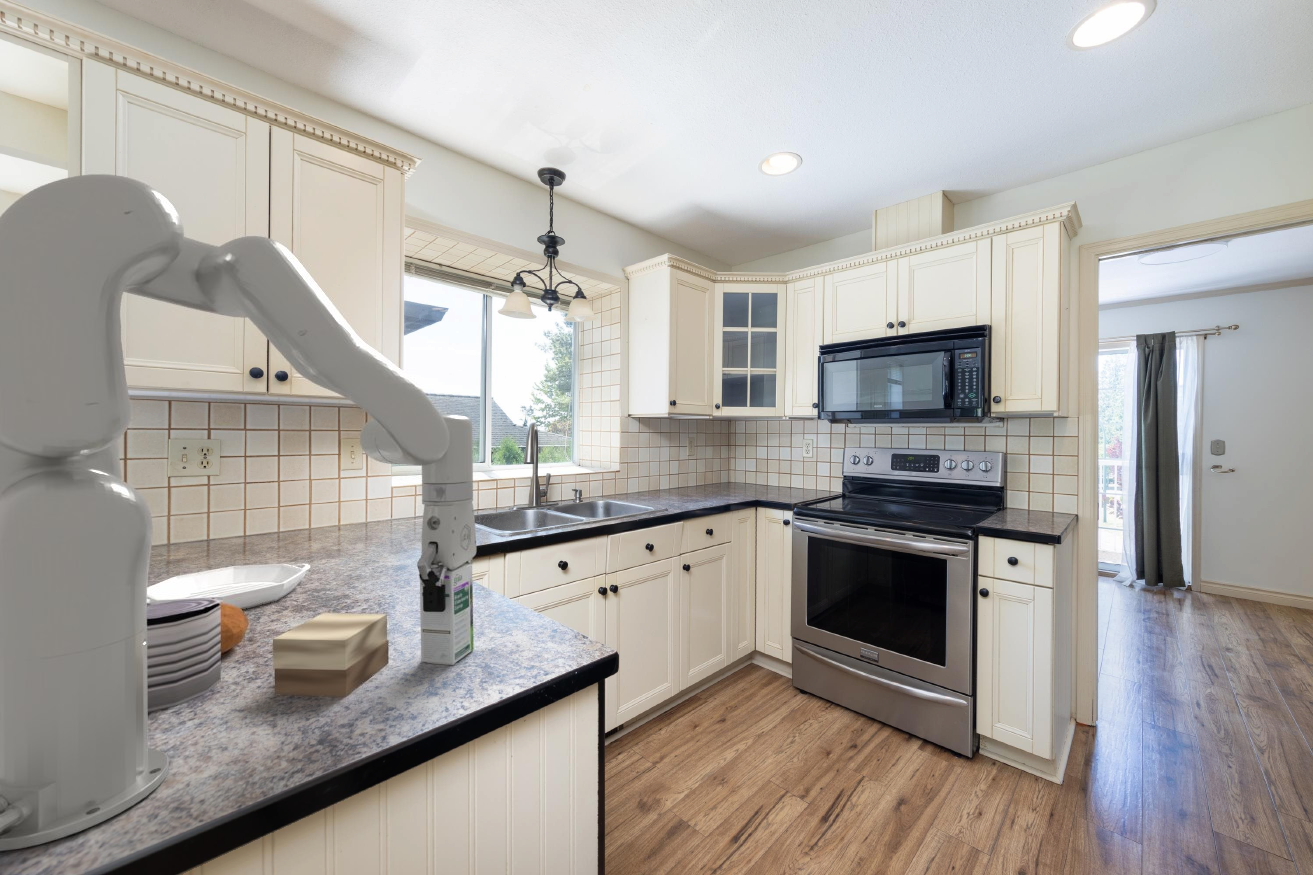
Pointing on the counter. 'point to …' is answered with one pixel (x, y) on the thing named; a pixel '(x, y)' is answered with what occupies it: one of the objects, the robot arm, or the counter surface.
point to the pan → (231, 585)
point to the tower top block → (329, 641)
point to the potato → (232, 626)
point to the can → (182, 651)
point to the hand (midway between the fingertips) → (449, 600)
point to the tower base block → (331, 676)
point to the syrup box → (449, 620)
